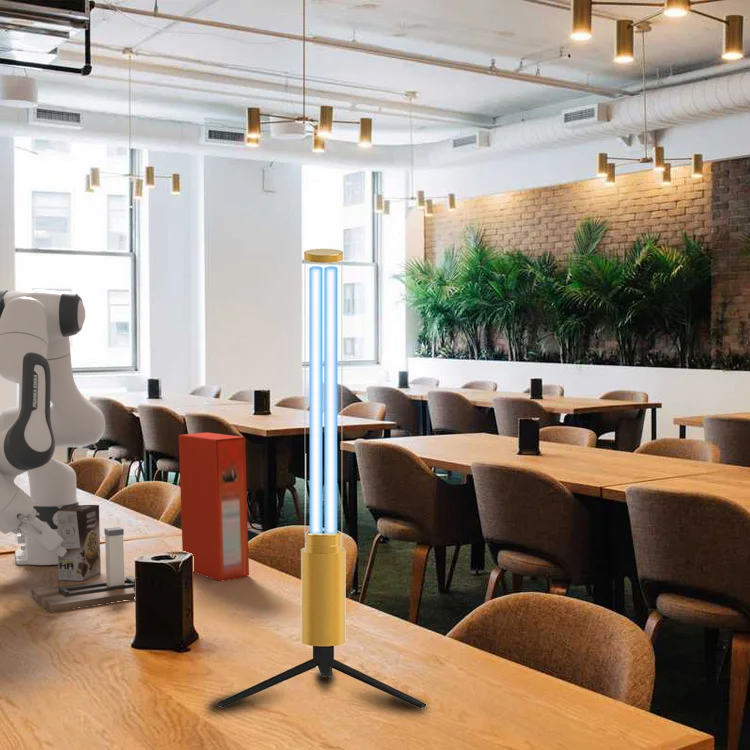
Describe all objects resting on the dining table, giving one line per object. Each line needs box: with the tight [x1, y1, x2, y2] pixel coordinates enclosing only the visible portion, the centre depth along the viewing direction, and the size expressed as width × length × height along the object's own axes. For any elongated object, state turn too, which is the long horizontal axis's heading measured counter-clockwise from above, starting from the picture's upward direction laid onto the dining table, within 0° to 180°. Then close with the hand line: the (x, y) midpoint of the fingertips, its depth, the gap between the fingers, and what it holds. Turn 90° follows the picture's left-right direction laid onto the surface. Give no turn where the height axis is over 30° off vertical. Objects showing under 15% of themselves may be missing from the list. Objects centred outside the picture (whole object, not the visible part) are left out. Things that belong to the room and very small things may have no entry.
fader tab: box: [103, 526, 125, 587], centre depth 225 cm, size 3×3×12 cm
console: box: [31, 575, 135, 613], centre depth 223 cm, size 16×22×4 cm
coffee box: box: [57, 504, 102, 582], centre depth 242 cm, size 9×6×16 cm
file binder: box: [178, 431, 250, 582], centre depth 243 cm, size 8×17×32 cm, turn 38°
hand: (62, 553), depth 219 cm, fingers closed
